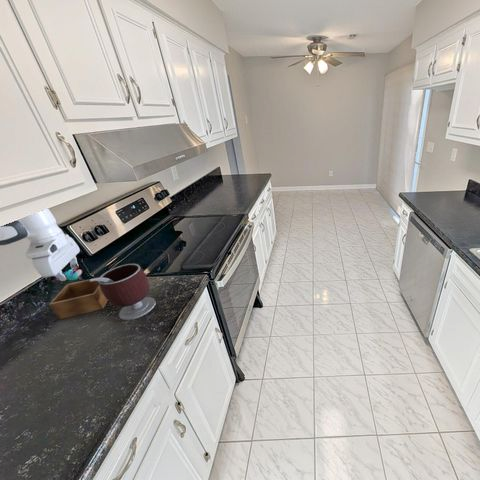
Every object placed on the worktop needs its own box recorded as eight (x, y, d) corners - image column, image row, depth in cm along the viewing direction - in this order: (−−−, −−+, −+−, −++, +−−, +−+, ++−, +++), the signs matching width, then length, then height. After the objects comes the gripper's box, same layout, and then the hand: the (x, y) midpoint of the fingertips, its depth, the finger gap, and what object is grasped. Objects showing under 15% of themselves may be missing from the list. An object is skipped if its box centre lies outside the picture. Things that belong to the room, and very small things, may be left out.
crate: (59, 319, 98) (48, 304, 94) (75, 298, 109) (66, 284, 106) (103, 308, 102) (94, 294, 98) (114, 289, 113) (107, 275, 110)
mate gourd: (144, 293, 109) (125, 253, 100) (165, 302, 103) (146, 260, 94) (105, 318, 97) (78, 275, 87) (125, 329, 91) (100, 284, 82)
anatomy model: (65, 261, 101) (48, 271, 95) (84, 263, 100) (68, 273, 94) (71, 272, 103) (54, 282, 97) (89, 273, 103) (73, 284, 97)
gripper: (55, 233, 100) (73, 262, 107) (21, 257, 83) (45, 290, 89) (74, 229, 102) (91, 259, 108) (45, 253, 85) (67, 286, 91)
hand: (70, 273), depth 99 cm, fingers closed on anatomy model, 7 cm apart
